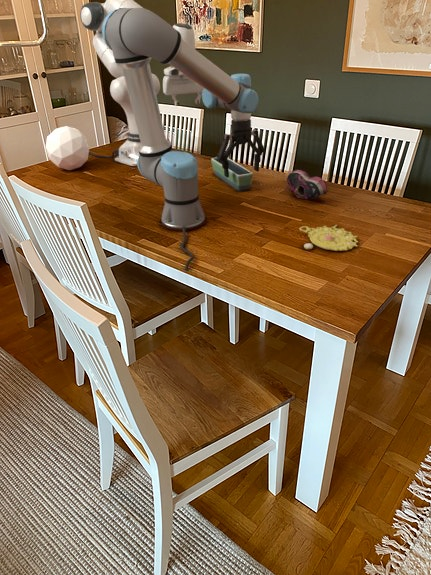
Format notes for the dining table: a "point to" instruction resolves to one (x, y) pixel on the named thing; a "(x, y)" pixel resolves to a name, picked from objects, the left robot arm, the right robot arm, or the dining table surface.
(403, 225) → the dining table surface
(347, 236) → the decorative object
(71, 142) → the sphere
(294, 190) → the athletic shoe
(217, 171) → the planter
